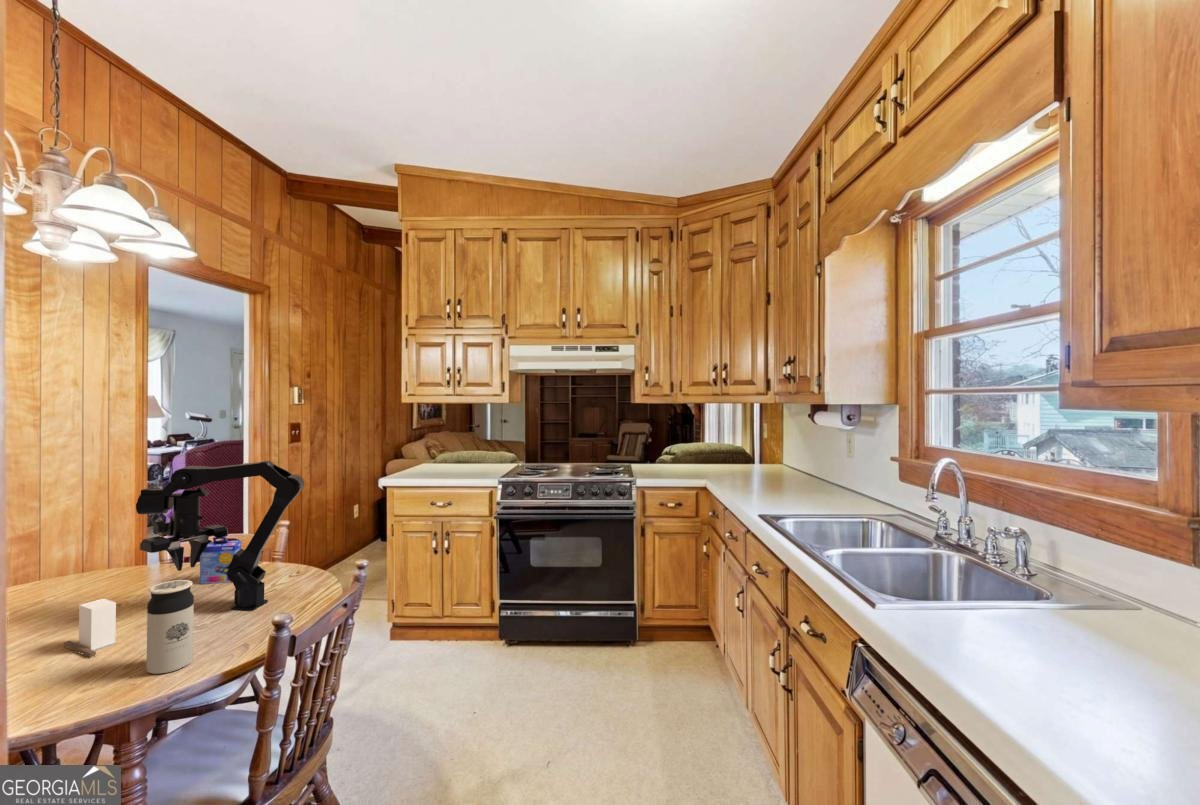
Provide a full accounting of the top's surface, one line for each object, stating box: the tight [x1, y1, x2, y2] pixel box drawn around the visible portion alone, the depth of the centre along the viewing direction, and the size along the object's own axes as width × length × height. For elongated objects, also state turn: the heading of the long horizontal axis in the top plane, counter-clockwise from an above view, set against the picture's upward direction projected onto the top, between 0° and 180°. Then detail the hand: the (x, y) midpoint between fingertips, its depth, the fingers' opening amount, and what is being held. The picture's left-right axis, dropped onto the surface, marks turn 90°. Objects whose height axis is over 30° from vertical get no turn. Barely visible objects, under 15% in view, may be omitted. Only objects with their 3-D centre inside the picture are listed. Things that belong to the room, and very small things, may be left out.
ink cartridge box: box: [199, 536, 242, 585], centre depth 166 cm, size 10×6×14 cm, turn 107°
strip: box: [63, 640, 97, 658], centre depth 120 cm, size 1×12×1 cm, turn 67°
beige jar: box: [145, 579, 195, 675], centre depth 115 cm, size 8×8×18 cm
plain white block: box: [78, 597, 117, 651], centre depth 123 cm, size 4×6×10 cm
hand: (185, 568), depth 142 cm, fingers open, 3 cm apart
